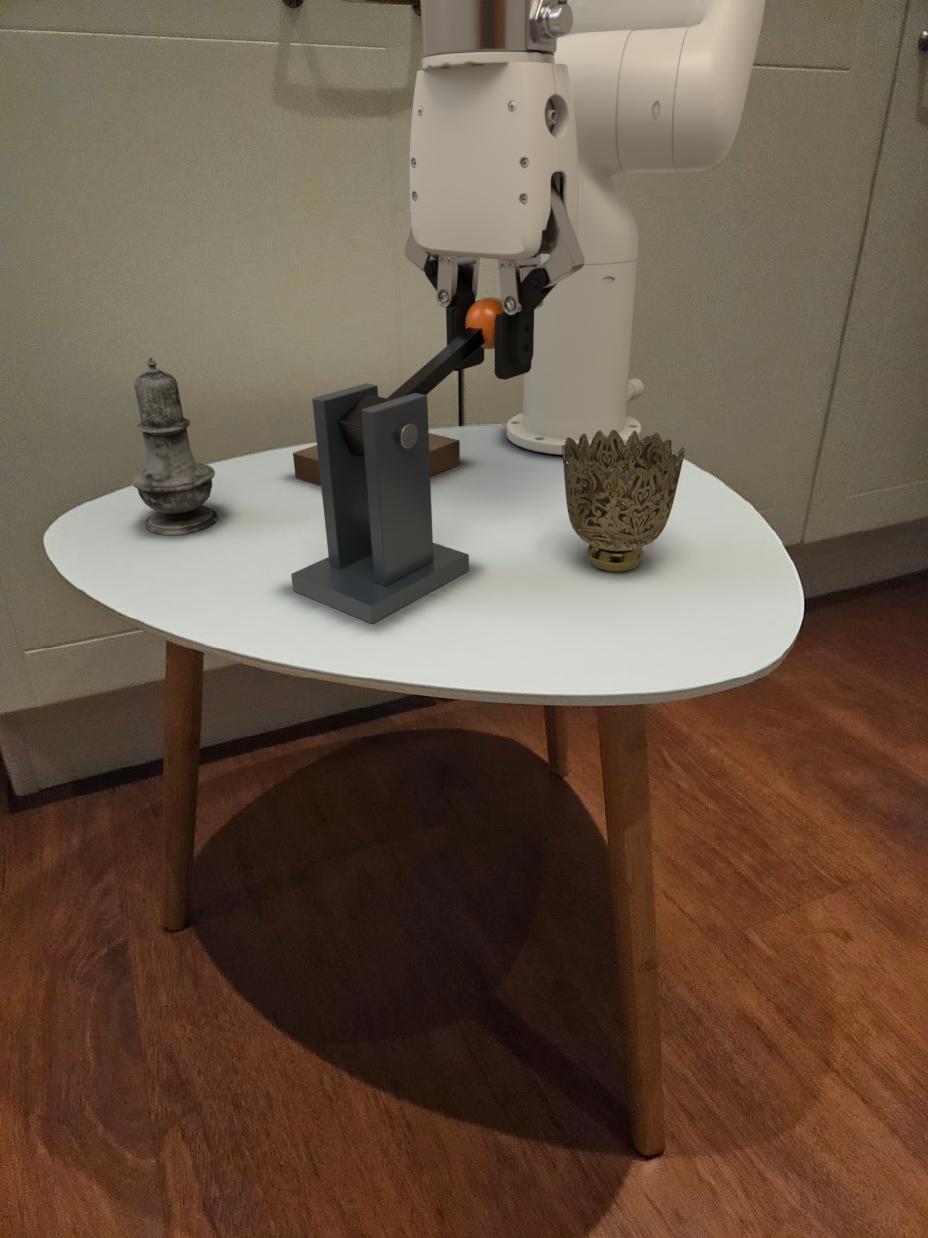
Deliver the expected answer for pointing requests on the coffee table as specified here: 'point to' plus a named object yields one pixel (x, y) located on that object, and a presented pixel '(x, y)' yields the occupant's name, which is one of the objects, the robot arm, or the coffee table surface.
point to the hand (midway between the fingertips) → (489, 368)
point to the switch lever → (430, 368)
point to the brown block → (440, 451)
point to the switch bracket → (376, 509)
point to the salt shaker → (170, 460)
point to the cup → (619, 494)
